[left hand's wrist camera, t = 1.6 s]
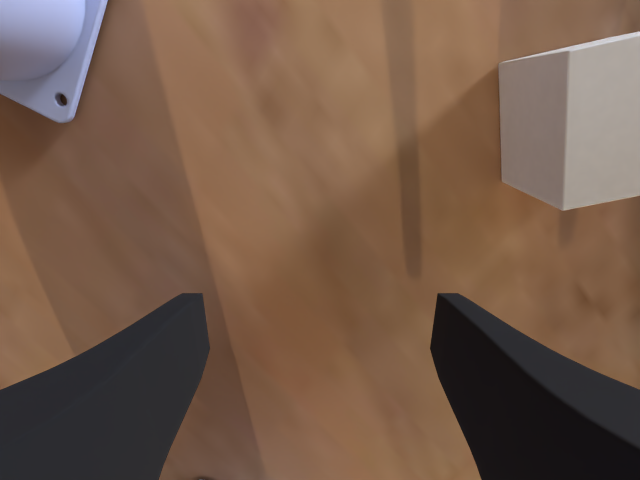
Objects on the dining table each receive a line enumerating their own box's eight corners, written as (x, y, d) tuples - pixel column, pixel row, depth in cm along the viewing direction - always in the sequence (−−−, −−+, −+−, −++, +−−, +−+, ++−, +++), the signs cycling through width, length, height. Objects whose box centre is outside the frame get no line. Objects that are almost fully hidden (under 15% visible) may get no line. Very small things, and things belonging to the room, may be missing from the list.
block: (501, 182, 17) (562, 211, 13) (497, 63, 15) (568, 50, 11) (600, 161, 17) (697, 184, 12) (609, 37, 15) (728, 13, 11)
